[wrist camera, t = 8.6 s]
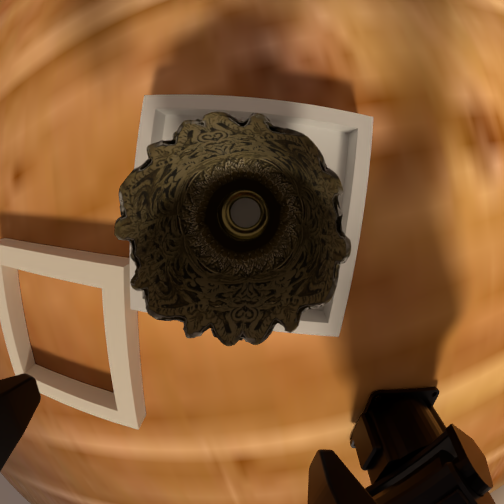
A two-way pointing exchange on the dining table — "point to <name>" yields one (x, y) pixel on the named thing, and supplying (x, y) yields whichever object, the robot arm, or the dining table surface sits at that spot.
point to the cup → (233, 228)
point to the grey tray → (247, 210)
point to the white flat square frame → (115, 318)
